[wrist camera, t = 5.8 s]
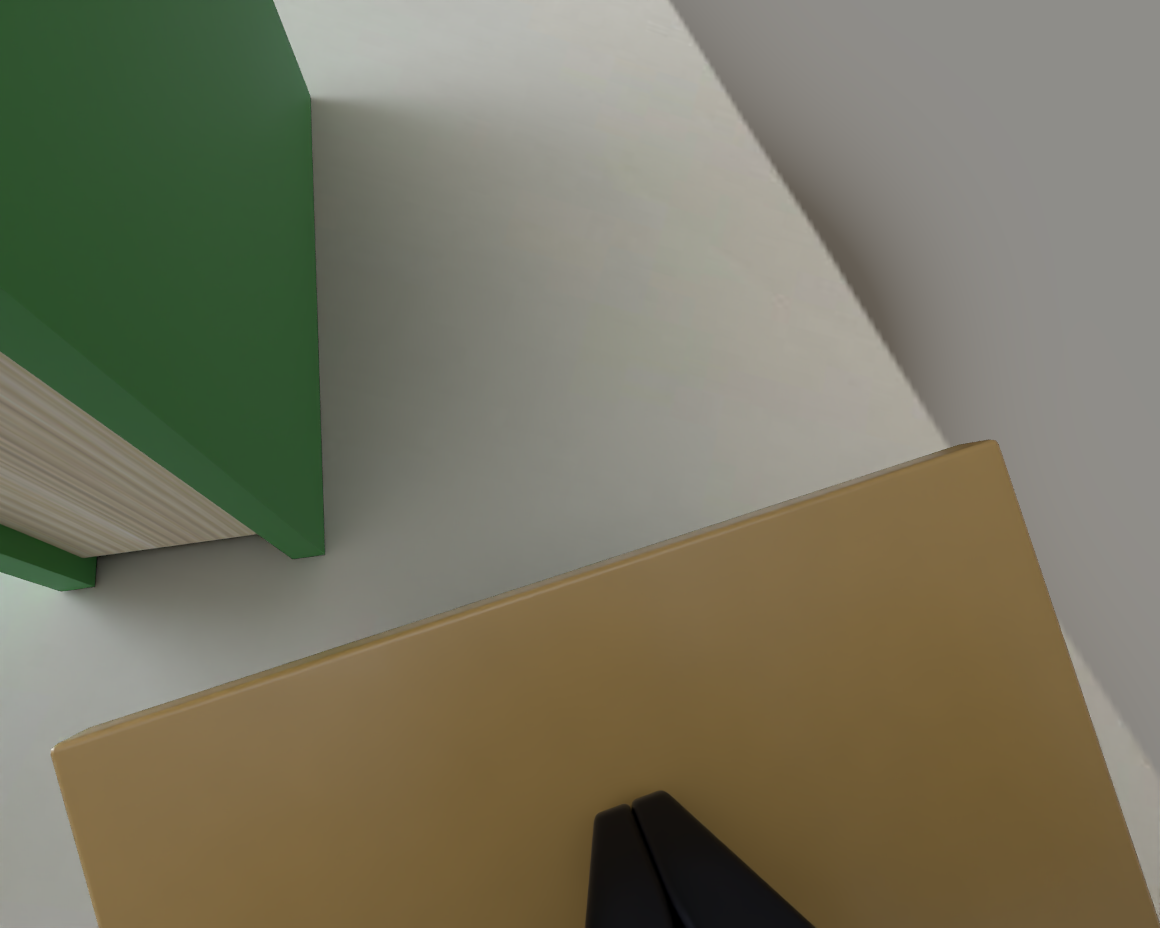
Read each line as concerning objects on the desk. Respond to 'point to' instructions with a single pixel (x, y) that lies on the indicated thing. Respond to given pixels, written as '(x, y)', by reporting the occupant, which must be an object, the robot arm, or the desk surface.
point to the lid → (650, 738)
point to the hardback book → (154, 284)
